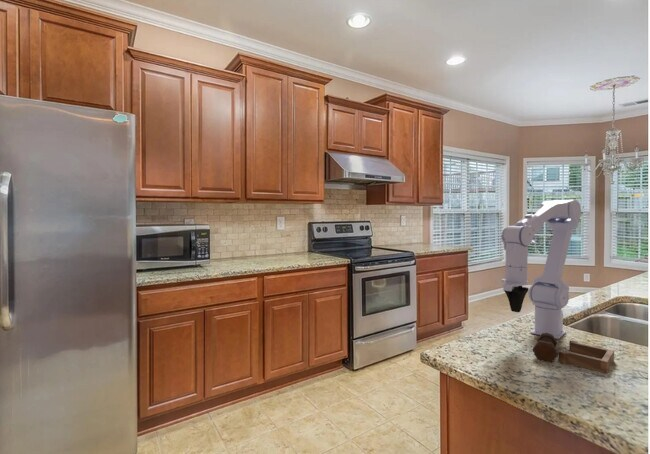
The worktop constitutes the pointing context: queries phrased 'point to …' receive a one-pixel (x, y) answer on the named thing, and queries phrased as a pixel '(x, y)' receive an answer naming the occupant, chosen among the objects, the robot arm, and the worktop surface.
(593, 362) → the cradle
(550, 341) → the bolt
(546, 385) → the worktop surface
